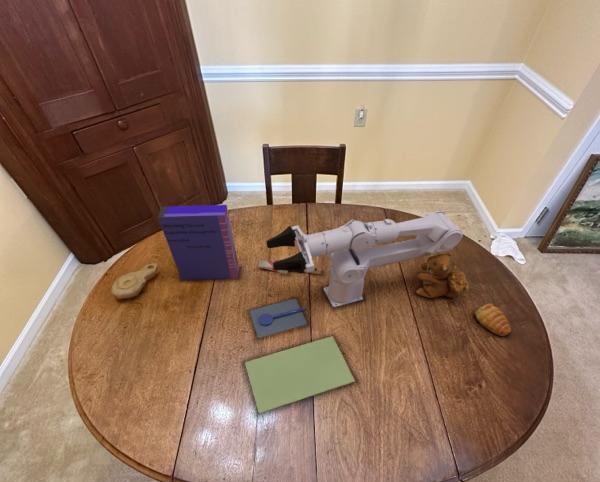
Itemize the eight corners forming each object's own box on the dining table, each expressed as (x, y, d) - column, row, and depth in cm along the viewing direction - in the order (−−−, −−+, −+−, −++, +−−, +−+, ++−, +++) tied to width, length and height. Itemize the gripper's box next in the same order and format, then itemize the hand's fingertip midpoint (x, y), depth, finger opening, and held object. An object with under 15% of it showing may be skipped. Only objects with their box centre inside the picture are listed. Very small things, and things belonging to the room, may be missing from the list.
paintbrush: (259, 256, 111) (322, 264, 109) (260, 262, 113) (321, 270, 111) (256, 264, 109) (320, 273, 107) (257, 270, 111) (319, 279, 109)
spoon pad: (295, 299, 103) (295, 298, 103) (307, 324, 96) (307, 323, 96) (249, 311, 100) (249, 310, 100) (258, 338, 93) (258, 338, 93)
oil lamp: (163, 271, 111) (158, 260, 108) (145, 306, 102) (138, 294, 98) (131, 269, 112) (125, 258, 109) (110, 303, 103) (103, 292, 99)
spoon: (302, 304, 101) (302, 302, 100) (307, 314, 98) (307, 312, 97) (257, 317, 98) (256, 314, 97) (260, 327, 95) (260, 325, 95)
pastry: (515, 331, 94) (521, 323, 91) (496, 341, 92) (502, 332, 89) (488, 307, 100) (493, 298, 97) (470, 316, 98) (474, 307, 95)
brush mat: (332, 336, 94) (332, 335, 93) (354, 381, 84) (355, 380, 84) (244, 363, 88) (244, 362, 88) (258, 414, 79) (258, 413, 79)
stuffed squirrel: (420, 271, 110) (431, 239, 100) (466, 287, 105) (482, 255, 95) (409, 292, 104) (420, 260, 94) (458, 310, 99) (474, 279, 89)
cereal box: (239, 268, 112) (226, 204, 95) (237, 278, 109) (224, 214, 91) (184, 269, 112) (162, 205, 94) (181, 280, 109) (157, 216, 91)
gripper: (314, 212, 88) (262, 223, 87) (332, 252, 80) (274, 265, 78) (315, 232, 94) (265, 243, 92) (331, 272, 85) (277, 285, 84)
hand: (270, 255), depth 85 cm, fingers open, 7 cm apart
